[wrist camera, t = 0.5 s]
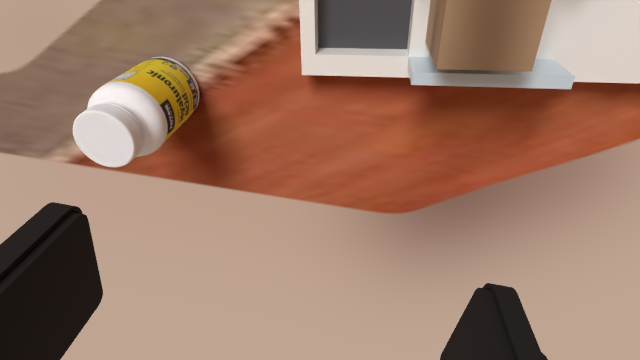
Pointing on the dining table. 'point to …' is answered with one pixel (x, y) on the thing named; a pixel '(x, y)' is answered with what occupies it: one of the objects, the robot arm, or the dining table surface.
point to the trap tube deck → (416, 63)
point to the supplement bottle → (136, 112)
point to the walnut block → (485, 33)
